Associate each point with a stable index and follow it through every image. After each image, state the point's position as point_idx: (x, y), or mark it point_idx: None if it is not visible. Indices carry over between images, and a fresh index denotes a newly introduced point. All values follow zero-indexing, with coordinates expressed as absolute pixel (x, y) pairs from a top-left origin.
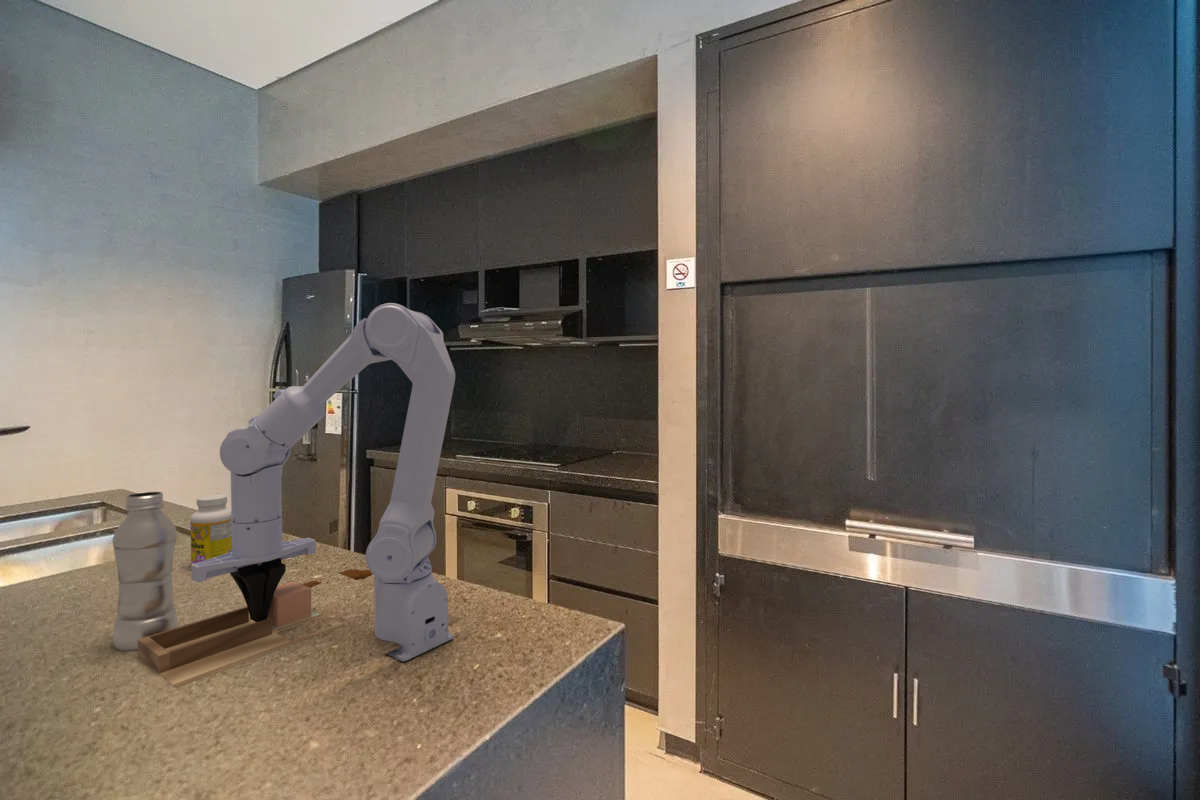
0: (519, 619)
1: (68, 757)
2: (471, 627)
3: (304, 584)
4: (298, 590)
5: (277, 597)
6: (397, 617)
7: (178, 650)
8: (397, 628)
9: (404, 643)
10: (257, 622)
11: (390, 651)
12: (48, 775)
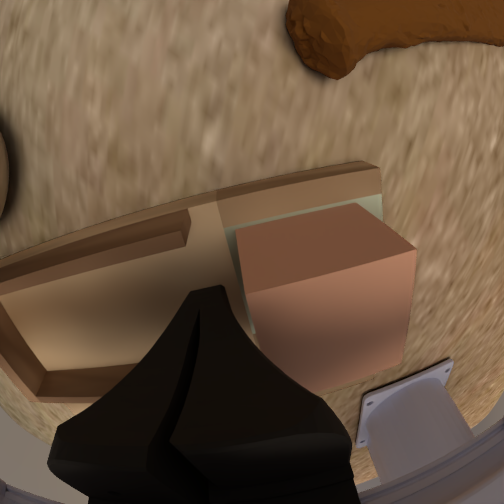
0: (484, 390)
1: (32, 421)
2: (458, 394)
3: (440, 10)
4: (364, 367)
5: None
6: (383, 472)
7: (51, 401)
8: (378, 460)
9: (371, 451)
10: None
11: (360, 436)
12: (33, 430)
